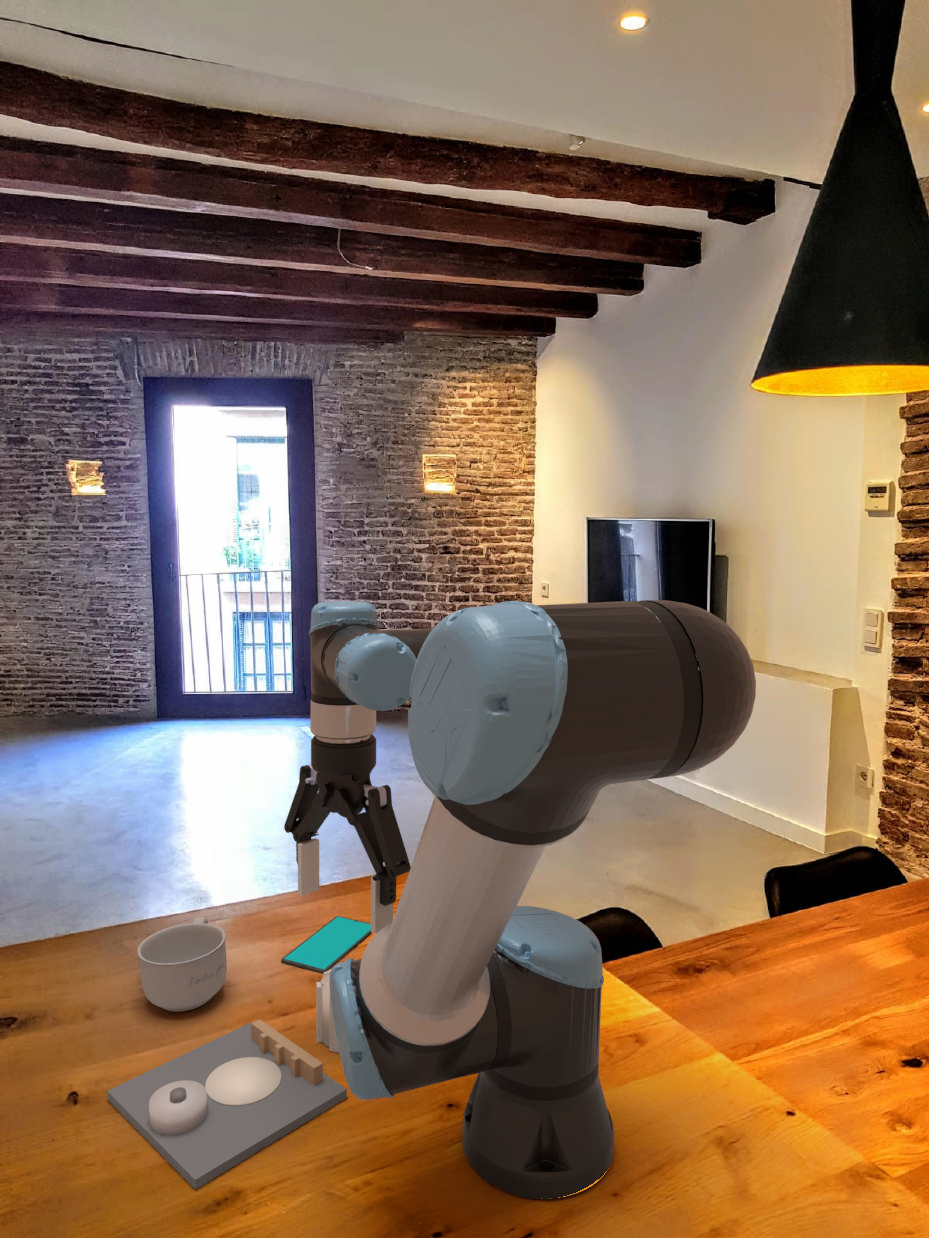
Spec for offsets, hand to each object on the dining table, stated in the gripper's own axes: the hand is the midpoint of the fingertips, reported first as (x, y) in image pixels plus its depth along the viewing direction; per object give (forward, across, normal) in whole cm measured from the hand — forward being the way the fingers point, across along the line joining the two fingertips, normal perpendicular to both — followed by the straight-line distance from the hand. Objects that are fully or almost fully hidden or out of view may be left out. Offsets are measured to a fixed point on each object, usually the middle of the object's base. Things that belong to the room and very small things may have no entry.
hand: (343, 909), depth 103 cm
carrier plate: (+16, 0, +16) cm, 22 cm away
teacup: (+16, +22, +8) cm, 28 cm away
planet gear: (+16, 0, 0) cm, 16 cm away
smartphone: (+17, +19, -13) cm, 28 cm away
